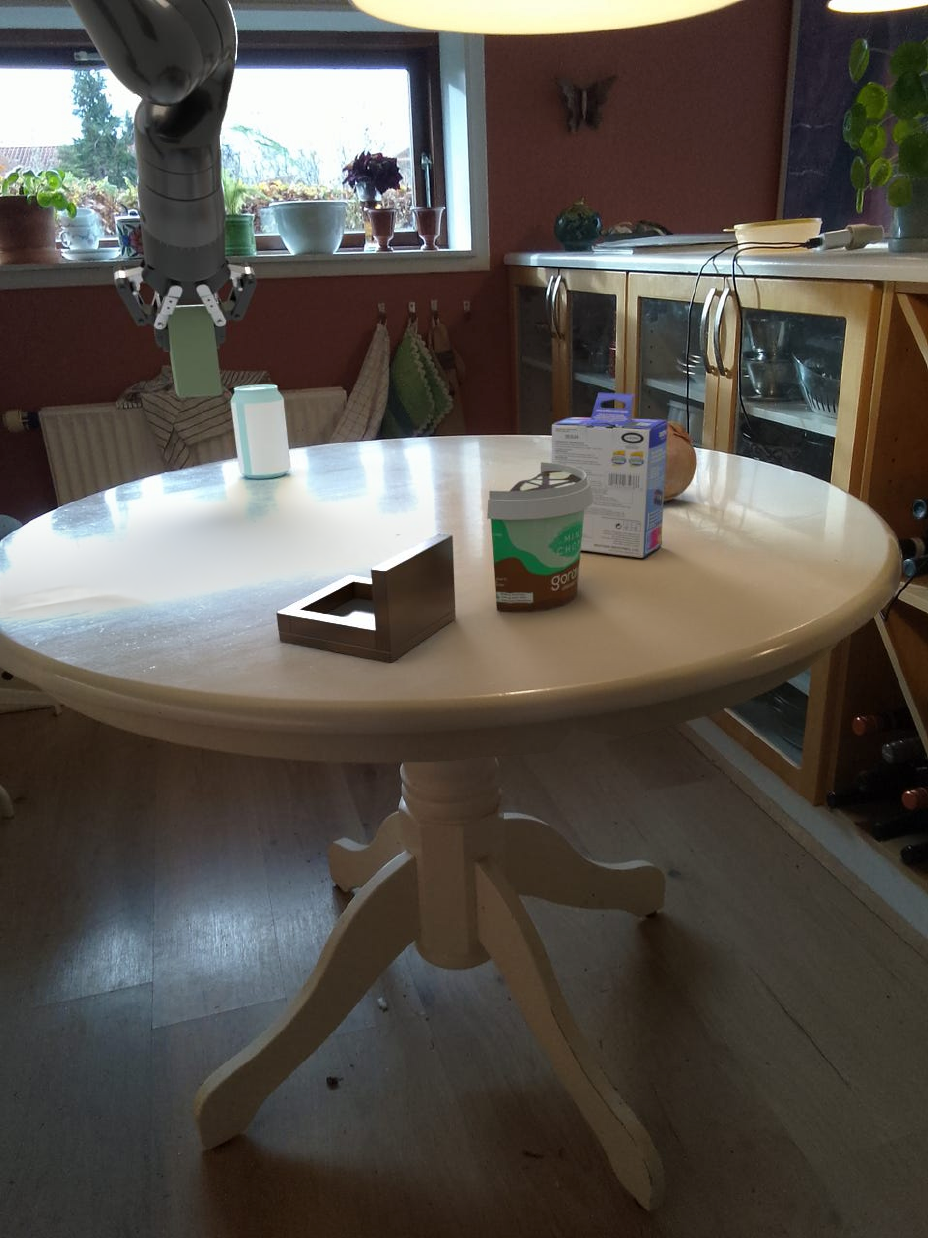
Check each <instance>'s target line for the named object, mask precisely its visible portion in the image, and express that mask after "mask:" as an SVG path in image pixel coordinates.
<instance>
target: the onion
mask: <svg viewBox="0 0 928 1238" xmlns="http://www.w3.org/2000/svg"><path fill="white" fill-rule="evenodd" d="M686 430H687V429H686V428H685V427H684V426H683V425H682V423H679V422H676V421H668V420H667V443H666V464H665V482H664V501H663V503H666V502H668V501H671V500H674V499H675V498H677V497H679V496H681V494H683V493H684V492H685V491H686V490H687V489H688V488H689V487H690V486H691V483H692V482H693V480H694V478H695V475H696V471H697V465H698V460H697V452H696V450H695V449H696V448H695V447H694V445H693V442H694V440H693V439H692V438H691V437H690V434H689V433H688V432H687V431H686Z"/></svg>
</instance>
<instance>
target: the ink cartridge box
mask: <svg viewBox="0 0 928 1238" xmlns="http://www.w3.org/2000/svg"><path fill="white" fill-rule="evenodd" d="M634 398H635V393H618V392H617V393H616V392H598V393H597V397H596V400H595V404H594V406H593V410H592V413H591V416H590V417H582V416H581V417H578V416H577V417H576V416H574V417H572V416H571V417H567V418H564V419H561V420H559V421H556V422H554V423H552V424H551V462H550V463H557V464H563V465H568V466H573V467H576V468H579V469H581V470H583V471H584V472H585V473H586V475H587V479H588V480H589V482H590V486H591V491H592V496H593V503H592V504H591V505H590V506H589V507H587V508H585V509H584V520H583V531H582V542H581V551H583V552H590V553H591V552H592V553H599V554H600V553H601V554H608V555H616V556H623V557H631V558H632V557H633V558H638V559H639V558H640V559H641V558H645V557H646V556H648V555H650V554H651V553H652V552H654V551H655V550H657V549H658V548H660V547H662V543H663V541H662V540H663V520H664V519H663V518H664V502H663V501H664V482H665V464H666V443H667V422H668V419H650V418H649V419H648V418H632V411H633V410H632V409H633V404H634ZM611 401H618V402H620V403H623V404H624V405H625V407H624V408H614V407H613V408H612V407H602V404H603V403H606V402H611Z"/></svg>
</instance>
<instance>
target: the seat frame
mask: <svg viewBox="0 0 928 1238" xmlns="http://www.w3.org/2000/svg"><path fill="white" fill-rule="evenodd" d="M454 561H455V559H454V537H453V534H445V533H438V534H436V535H434V536H432V537H431V538H430V537H429V538H428V539H427V540H425V541H423V542H421V543H419V544H416V545H415V546H413V547H411V548H409V549H407V550H405V551H403V552H401V553H400V554H397V555H396V556H394V557H392V558H390V559H388V560H386V561H384V562H382V563H380V564H378V565H376V566H374V567H372V568H371V569H370V577H371V578H368V577H362V576H356V575H347V576H346V577H344V578H343V577H342V579H339V580H338V581H336V582H334V583H332V584H330V585H328V586H326V587H324V588H322V589H320V590H318V591H315V592H314V593H311V594H310V595H308V596H306V597H304V598H302V599H301V600H298V601H297V602H295V603H292V604H290V605H288V606H287V607H285V608H282V609H281V610H279V611H277V612H276V613H275V614H276V615H275V616H276V622H277V631H278V639H279V641H280V642H285V643H288V644H293V645H298V646H299V645H300V646H305V647H308V648H309V647H310V648H314V649H320V650H325V651H330V652H334V653H340V654H345V655H351V656H355V657H360V658H366V659H369V660H374V661H375V660H376V661H381V662H387V663H393V662H394V661H396V660H397V659H399V658H401V657H402V656H403V655H405V654H406V653H407V652H409V651H410V650H412V649H414V648H415V647H416V646H418V645H419V644H420V643H422V642H423V641H425V640H426V639H427V638H429V637H431V636H432V635H434V634H435V633H436V632H438V631H439V630H441V629H442V628H444V627H445V626H446V625H448V624H449V623H450V622H452V621H453V620H455V619H456V590H455V589H456V588H455V587H456V586H455V585H456V584H455V563H454Z"/></svg>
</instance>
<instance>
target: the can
mask: <svg viewBox="0 0 928 1238" xmlns="http://www.w3.org/2000/svg"><path fill="white" fill-rule="evenodd" d="M233 391H234V393H233V395H232V397H231V398H230V407H231V416H232V424H233V433H234V438H235V447H236V456H237V463H238V465H237V466H238V471H239V473H240V474H241V475H242V476H243V475H244V476H245V477H246V478H248V479H255V480H256V479H257V480H261V479H263V480H264V479H273V478H278V477H282V476H284V475H286V473H287V472H289V471H290V469H291V457H290V449H289V447H290V446H289V439H288V438H289V437H288V428H287V427H288V426H287V419H286V418H287V417H286V409H285V399H284V396H283V395H282V394H281V393H280V391H279V390H278V385H276V384H248V385H247V384H246V385H239V386H236V387H234V388H233Z"/></svg>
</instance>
